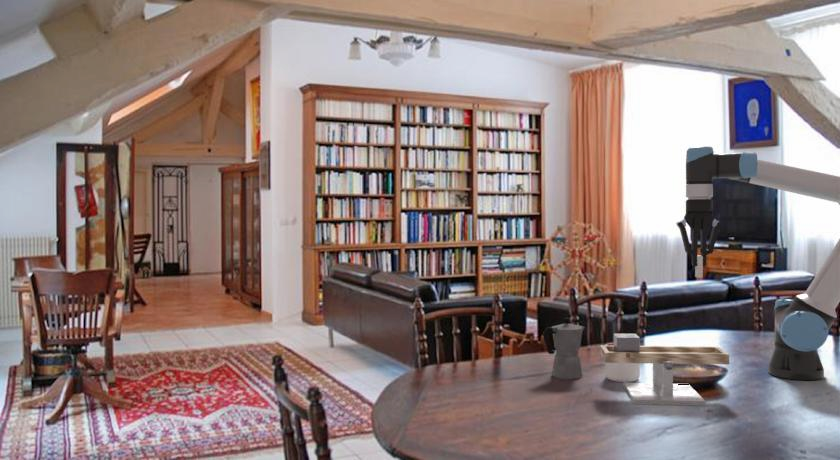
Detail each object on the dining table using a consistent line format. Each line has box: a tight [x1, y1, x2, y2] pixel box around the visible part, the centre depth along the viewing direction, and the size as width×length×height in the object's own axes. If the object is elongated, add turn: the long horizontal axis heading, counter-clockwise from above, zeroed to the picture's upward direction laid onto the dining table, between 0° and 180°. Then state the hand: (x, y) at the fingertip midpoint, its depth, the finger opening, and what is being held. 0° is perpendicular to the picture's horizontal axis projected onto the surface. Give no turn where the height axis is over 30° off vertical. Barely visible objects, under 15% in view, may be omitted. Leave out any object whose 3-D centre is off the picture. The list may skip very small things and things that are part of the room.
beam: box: [599, 344, 730, 365], centre depth 196 cm, size 32×11×4 cm, turn 83°
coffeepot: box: [542, 317, 586, 380], centre depth 219 cm, size 15×9×18 cm, turn 116°
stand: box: [623, 360, 707, 407], centre depth 196 cm, size 18×18×11 cm
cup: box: [604, 342, 641, 383], centre depth 215 cm, size 10×10×10 cm
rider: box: [613, 333, 641, 352], centre depth 197 cm, size 6×6×5 cm
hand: (698, 277), depth 215 cm, fingers closed
